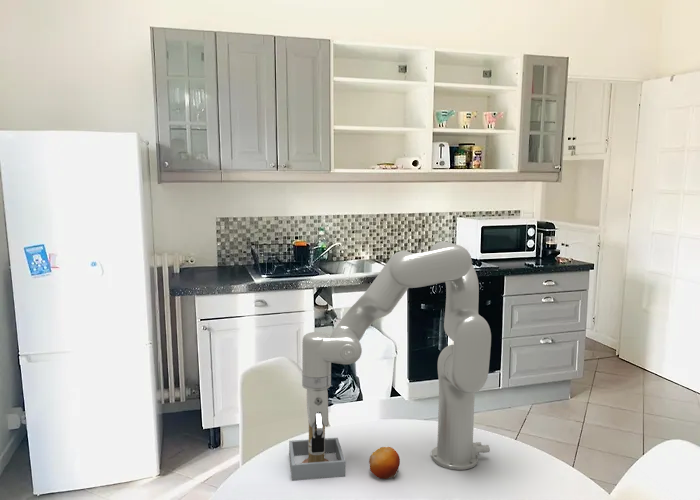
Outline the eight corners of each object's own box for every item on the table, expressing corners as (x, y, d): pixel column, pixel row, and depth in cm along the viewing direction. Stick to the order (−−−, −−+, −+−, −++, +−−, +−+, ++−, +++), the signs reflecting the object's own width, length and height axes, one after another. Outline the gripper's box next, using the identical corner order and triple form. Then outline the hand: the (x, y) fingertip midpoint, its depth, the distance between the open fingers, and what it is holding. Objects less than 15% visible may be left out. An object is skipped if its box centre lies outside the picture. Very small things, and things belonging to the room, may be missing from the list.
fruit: (405, 479, 130) (389, 451, 130) (378, 491, 132) (362, 464, 132) (408, 463, 138) (393, 437, 138) (382, 475, 140) (367, 449, 140)
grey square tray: (337, 451, 147) (337, 437, 147) (345, 476, 134) (345, 461, 133) (289, 454, 145) (289, 440, 144) (291, 480, 132) (291, 465, 131)
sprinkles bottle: (307, 467, 137) (307, 418, 136) (309, 458, 142) (309, 411, 140) (324, 468, 137) (324, 419, 136) (325, 459, 142) (326, 411, 140)
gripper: (335, 391, 129) (334, 459, 131) (326, 368, 146) (326, 429, 148) (304, 392, 128) (304, 461, 130) (299, 369, 145) (299, 430, 147)
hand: (316, 443), depth 139 cm, fingers open, 7 cm apart
